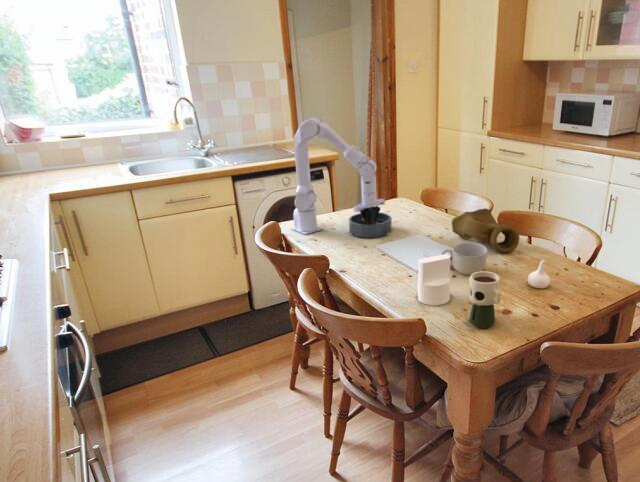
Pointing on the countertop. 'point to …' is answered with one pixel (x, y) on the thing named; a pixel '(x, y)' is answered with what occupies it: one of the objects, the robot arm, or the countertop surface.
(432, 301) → the cylinder with rectangular tab
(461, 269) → the teacup
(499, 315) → the countertop surface
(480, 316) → the character mug
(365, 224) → the brown rectangular block
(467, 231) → the brown looped sculpture
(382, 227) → the bowl
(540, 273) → the garlic bulb
